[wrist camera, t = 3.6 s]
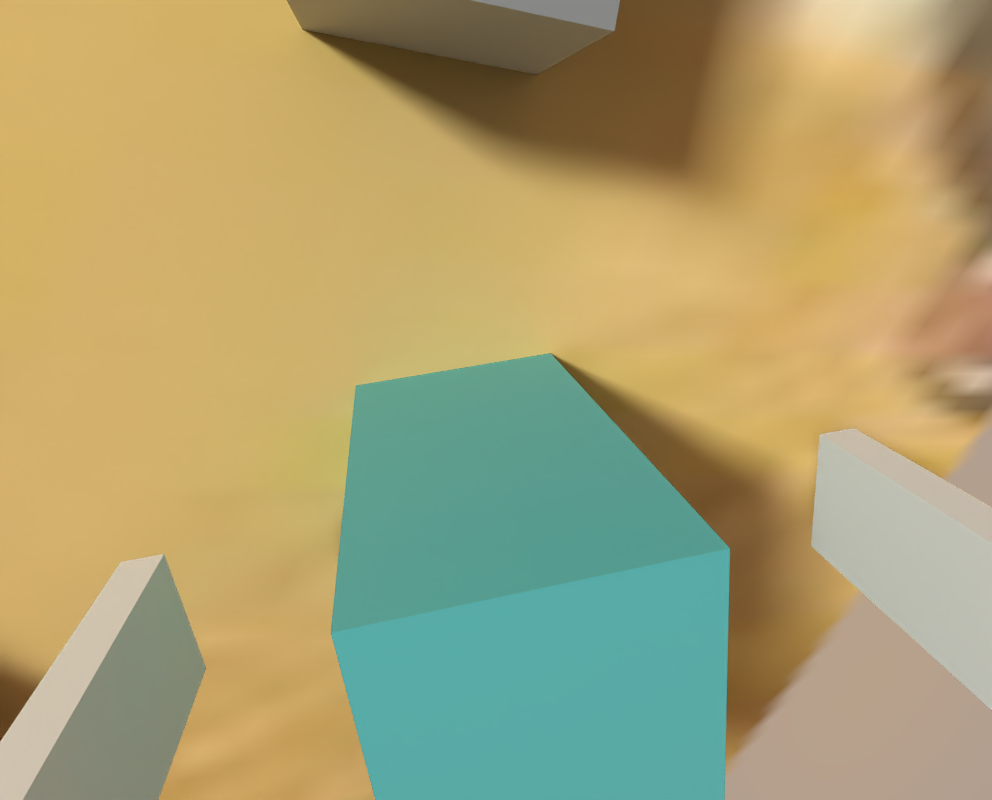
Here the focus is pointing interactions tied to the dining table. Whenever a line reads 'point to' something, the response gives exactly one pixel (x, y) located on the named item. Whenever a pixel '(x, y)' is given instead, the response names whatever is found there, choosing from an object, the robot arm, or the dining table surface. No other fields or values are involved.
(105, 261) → the dining table surface
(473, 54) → the grey block
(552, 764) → the teal block
